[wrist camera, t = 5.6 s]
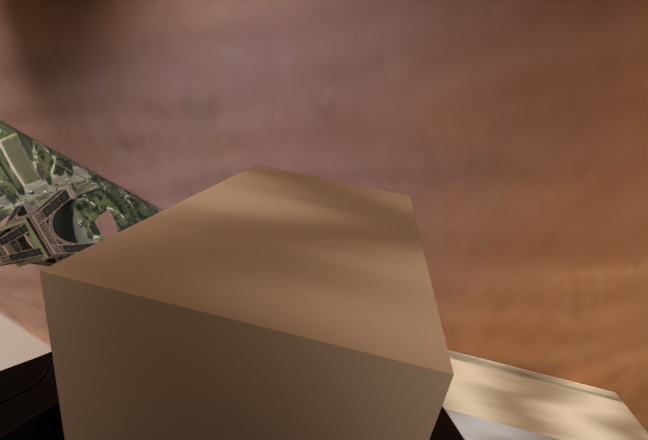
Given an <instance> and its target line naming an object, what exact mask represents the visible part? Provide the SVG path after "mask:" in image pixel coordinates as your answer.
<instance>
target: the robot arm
mask: <svg viewBox="0 0 648 440" xmlns="http://www.w3.org/2000/svg"><path fill="white" fill-rule="evenodd" d="M0 440H65V438H64V432H63V425H62V418H61V411H60V404H59V397H58V391H57V384H56V377H55V370H54V363H53V357H52V352H50V353H47V354H44V355H42V356H39V357H37V358H34V359H32V360H29V361H26V362H23V363H21V364H18V365H15V366H12V367H10V368H7V369H4V370H2V371H0ZM429 440H465V439H464V438H463V436H462V435H461V433H460V431H459V430H458V428H457V427H456V425H455V424H454V422H453V421H452V419H451V418H450V416H449V415H448V413H447V412H446V410H445V409H444V407H443V406H442V408H441V410H440V413H439V416H438V418H437V421H436V423H435V426H434V429H433V431H432V434H431V437H430V439H429Z"/></svg>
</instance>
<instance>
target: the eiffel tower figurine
mask: <svg viewBox="0 0 648 440" xmlns="http://www.w3.org/2000/svg"><path fill="white" fill-rule="evenodd" d="M109 208H110V210H111V213H112V215H113V217H114V220H115V222H116V224H117V228H118V232H120V231H122V230H124V229H126V228H128V227H131V226H133V225H135V224H137V223H139V222H141V221H143V220H145V219H147V218H149V217H151V216H153V215H155V214H157V213H159V212H161V210H160V209H158V208H156V207H154V206H152V205H150V204H149V203H147V202H145V201H143V200H142V199H140V198H138V197H137V196H135V195H133V194H131V193H130V192H128V191H126V190H124V189H122V188H121V187H119V186H117V185H115V184H113V183H112V182H110V181H108V180H106V179H104V178H102V177H100V176H98V175H96V174H94V173H92V172H90V171H89V170H87V169H85V168H83V167H81V166H79V165H77V164H76V163H74V162H72V161H70V160H68V159H67V158H65V157H63V156H61V155H59V154H58V153H56V152H54V151H52V150H50V149H49V148H47V147H45V146H43V145H41V144H40V143H38V142H36V141H34V140H33V139H31V138H29V137H27V136H26V135H24V134H22V133H21V132H19V131H17V130H16V129H14V128H12V127H11V126H9V125H8V124H6V123H4V122H3V121H0V222H1V221H2V220H3V219H5V218H6V217H7V216H9V215H10V214H11V215H10V217H9V219H8V220H7V222H6V223H5V225H4V226H3V227H0V266H3V265H8V264H16V265H17V266H18V267H20V266H23V265H26V264H37V265H46V266H51V265H53V264H55V263H57V262H59V261H61V260H63V259H65V258H67V257H69V256H71V255H73V254H75V253H78V252H80V251H82V250H84V249H86V248H88V247H90V246H92V245H94V244H96V243H98V242H100V241H102V240H104V239H103V238H102V236H101V234H100V232H99V230H98V228H97V226H96V224H95V223H94V221H95V220H96V219H97V217H98V216H99V215H100V214H102V213H103V212H105V211H106V210H108V209H109ZM24 234H27V236H28V238H29V239H30V241H31V243H32V244H33V246H34V248H32V247H31V246H30V245H29V244H28V243H27V241H26V239H25V237H24ZM3 246H5V247H6V249H7V251H8V252H9V254H10V255H8V254H7V253H6V251H5V249H4V248H3Z"/></svg>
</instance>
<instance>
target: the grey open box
mask: <svg viewBox="0 0 648 440" xmlns="http://www.w3.org/2000/svg"><path fill="white" fill-rule="evenodd" d="M448 353H449V357H450V361H451V365H452V369H453V373H454V376H453V379H452V381H451V384H450V386H449V389H448V392H447V394H446V397H445V400H444V402H443V405H442V406H443V407H444V409H445V410H446V412H447V413H448V415H449V416H450V418H451V419H452V421H453V422H454V424H455V425H456V427H457V428H458V430H459V431H460V433H461V435H462V436H463V438H464V439H465V440H648V433H647V432H646V431H645V429H644V428H643V427H642V425H641V424H640V423H639V422H638V420H637V419H636V418H635V417H634V415H633V414H632V413H631V412H630V410H629V409H628V408H627V406H626V405H625V404H624V403H623V401H622V400H621V399H620V398H619V396H618V395H617V394H616V393H615V392H612V391H608V390H605V389H601V388H597V387H593V386H589V385H585V384H581V383H577V382H573V381H569V380H565V379H561V378H557V377H553V376H549V375H545V374H541V373H537V372H533V371H530V370H526V369H522V368H518V367H514V366H510V365H506V364H502V363H498V362H494V361H490V360H486V359H482V358H478V357H474V356H470V355H466V354H462V353H458V352H454V351H451V350H448Z"/></svg>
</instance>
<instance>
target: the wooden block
mask: <svg viewBox="0 0 648 440" xmlns="http://www.w3.org/2000/svg"><path fill="white" fill-rule="evenodd" d="M40 275H41V282H42V288H43V295H44V302H45V309H46V316H47V322H48V329H49V336H50V343H51V350H52V357H53V363H54V370H55V377H56V384H57V391H58V397H59V404H60V411H61V418H62V425H63V432H64V438H65V440H429V439H430V437H431V434H432V431H433V429H434V426H435V423H436V421H437V418H438V416H439V413H440V410H441V408H442V405H443V402H444V400H445V397H446V394H447V392H448V389H449V386H450V384H451V381H452V379H453V376H454V373H453V369H452V365H451V361H450V357H449V353H448V349H447V345H446V341H445V337H444V333H443V329H442V325H441V321H440V317H439V312H438V308H437V304H436V300H435V296H434V292H433V288H432V284H431V280H430V276H429V272H428V268H427V264H426V260H425V256H424V252H423V248H422V244H421V240H420V236H419V232H418V228H417V224H416V220H415V216H414V212H413V208H412V204H411V200H410V196H409V195H404V194H399V193H394V192H389V191H384V190H379V189H374V188H369V187H364V186H359V185H354V184H349V183H344V182H339V181H334V180H329V179H324V178H319V177H314V176H309V175H304V174H299V173H294V172H289V171H284V170H279V169H274V168H269V167H264V166H259V165H255V166H253V167H251V168H249V169H247V170H245V171H243V172H241V173H239V174H236V175H234V176H232V177H230V178H228V179H226V180H224V181H222V182H220V183H218V184H216V185H214V186H212V187H210V188H208V189H206V190H204V191H202V192H200V193H198V194H196V195H194V196H192V197H190V198H188V199H186V200H183V201H181V202H179V203H177V204H175V205H173V206H171V207H169V208H167V209H165V210H163V211H161V212H159V213H157V214H155V215H153V216H151V217H149V218H147V219H145V220H143V221H141V222H139V223H137V224H135V225H133V226H131V227H128V228H126V229H124V230H122V231H120V232H118V233H116V234H114V235H112V236H110V237H108V238H106V239H104V240H102V241H100V242H98V243H96V244H94V245H92V246H90V247H88V248H86V249H84V250H82V251H80V252H78V253H75V254H73V255H71V256H69V257H67V258H65V259H63V260H61V261H59V262H57V263H55V264H53V265H51V266H49V267H47V268H45V269H43V270H41V271H40Z"/></svg>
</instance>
